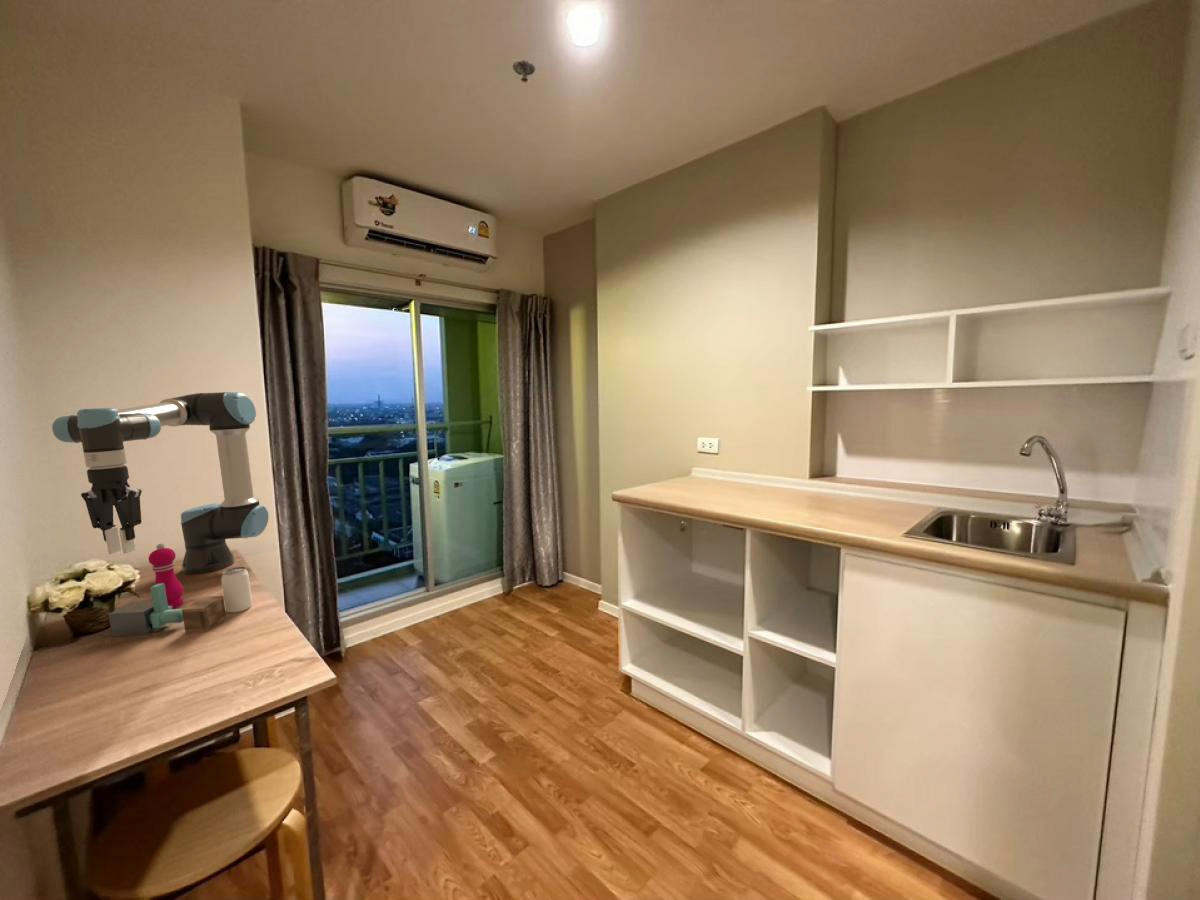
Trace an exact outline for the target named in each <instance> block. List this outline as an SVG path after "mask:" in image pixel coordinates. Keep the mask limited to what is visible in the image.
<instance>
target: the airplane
mask: <svg viewBox="0 0 1200 900" xmlns="http://www.w3.org/2000/svg"><path fill="white" fill-rule="evenodd" d="M149 588H150V589H149V590H150V597H151V601H152V602H153V608H154V611H150V612H148V615H149V621H150V624H152V627H153V628H158V629H160V628H163V626H165V625H167V624H175V623H176V624H177V623H178V624H179V623H184V621H183V615H182V609H183V608H179V609H178V608H175V609H172V606H168V602H167V596H166V590H165V584H164V583H162V584H156V585H155V584H154V585H152V586H150V587H149Z"/></svg>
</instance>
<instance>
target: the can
mask: <svg viewBox="0 0 1200 900" xmlns="http://www.w3.org/2000/svg"><path fill="white" fill-rule="evenodd" d="M221 574H222V576H221V578H220V581H221V588H222V596H223V597H224V604H225V611H226V612H227V613H228V614H234V613H235V614H236V613H240V612H244V611H246V610H248V609H250V608H251V607H252V606H253V597H252V591H251V590H252V588H251V585H250V584H251V583H250V575H249V572H248V570H247V568H246V566H237V567H232V568H228V569H226V570H223V571H222V573H221Z"/></svg>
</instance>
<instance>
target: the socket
mask: <svg viewBox="0 0 1200 900" xmlns="http://www.w3.org/2000/svg"><path fill="white" fill-rule="evenodd" d="M181 609H182V615H183V626H184V633H185V634H193V633H196V634H197V633H207V632H208V631H210V630H212V629H213V628H214V626H215V627H216V626H217V625H219V624H220V623H222V622H224V621H225V620H226V619H227V613H226V612H227V611H226V608H225V602H224V595H219V596H218V595H217V596H216V595H214V596H203V597H201V598H199V599H197V600H195V601H193V602H192V603H190V604H188V605H187V606H185V607H184V608H181ZM221 621H222V622H221Z"/></svg>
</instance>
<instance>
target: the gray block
mask: <svg viewBox="0 0 1200 900" xmlns="http://www.w3.org/2000/svg"><path fill="white" fill-rule="evenodd" d="M150 611H154V608H153V602H152V600H147V601H145V600H143V601H132V602H128V603H127V604H125V605H124V606H121V607H119V608H117V609H115V610H113V611H111V612H109V613H108V619H109V625H110V630H111V631H110V632H111V636H112V637H113V638H116V637H117V638H119V637H131V636H133V637H134V636H148V635H150V634H152V633H153V632H155V631H156V630H159V628H153V627H152V624H150V621H149V615H148V612H150Z"/></svg>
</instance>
